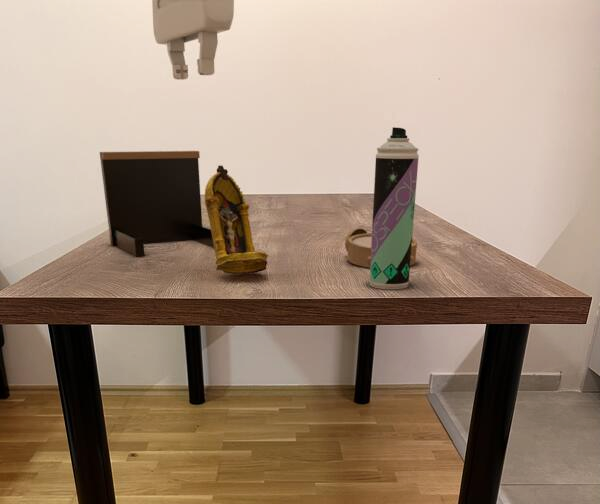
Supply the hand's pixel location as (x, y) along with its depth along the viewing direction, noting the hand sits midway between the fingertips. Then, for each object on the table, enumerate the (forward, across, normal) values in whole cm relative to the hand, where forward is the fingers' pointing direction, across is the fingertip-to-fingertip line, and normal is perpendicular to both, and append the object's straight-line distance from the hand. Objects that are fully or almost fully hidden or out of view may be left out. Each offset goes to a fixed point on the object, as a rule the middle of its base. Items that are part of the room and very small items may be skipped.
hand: (193, 77), depth 87 cm
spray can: (+26, +22, +19) cm, 39 cm away
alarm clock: (+26, +6, +29) cm, 39 cm away
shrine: (+26, +6, +3) cm, 27 cm away
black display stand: (+26, -23, +3) cm, 35 cm away
